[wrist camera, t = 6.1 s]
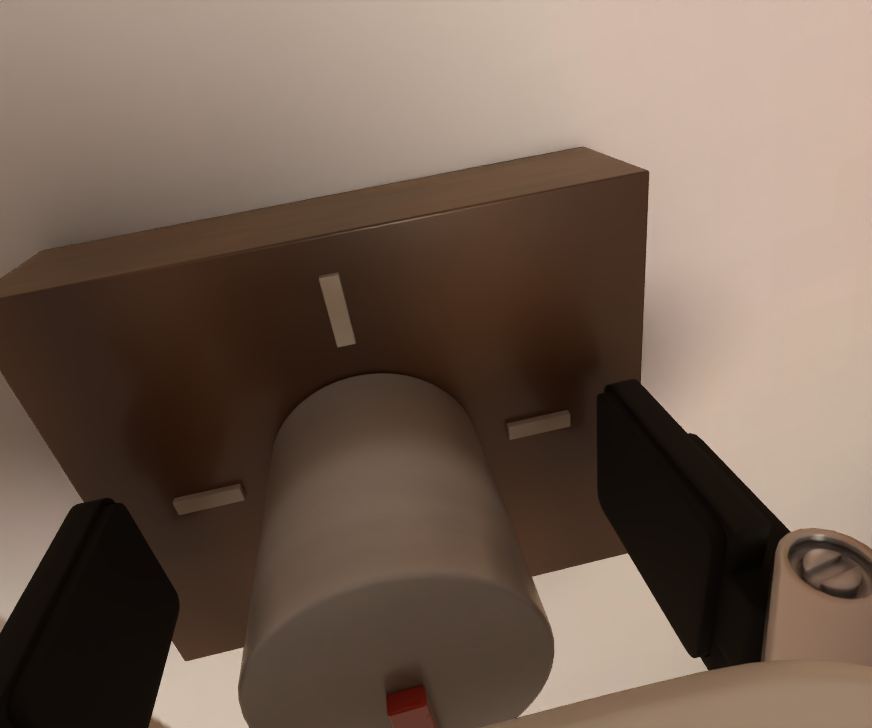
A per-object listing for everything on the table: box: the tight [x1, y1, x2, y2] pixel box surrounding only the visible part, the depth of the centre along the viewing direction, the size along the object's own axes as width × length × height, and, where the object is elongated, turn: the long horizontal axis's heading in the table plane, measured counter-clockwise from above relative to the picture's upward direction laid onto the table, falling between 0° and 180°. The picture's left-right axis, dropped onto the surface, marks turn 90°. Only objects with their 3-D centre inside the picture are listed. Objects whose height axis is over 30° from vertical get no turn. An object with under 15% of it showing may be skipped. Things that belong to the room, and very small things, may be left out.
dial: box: [238, 373, 554, 728], centre depth 10 cm, size 4×4×5 cm
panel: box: [0, 147, 649, 661], centre depth 13 cm, size 12×10×3 cm
